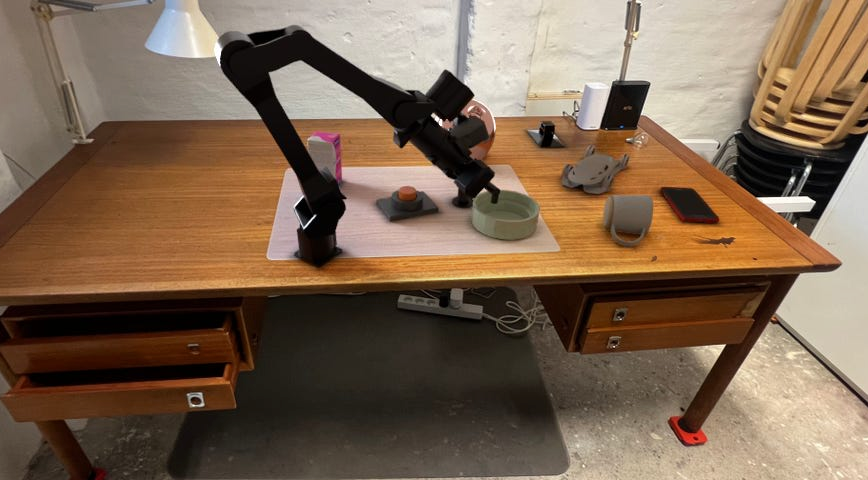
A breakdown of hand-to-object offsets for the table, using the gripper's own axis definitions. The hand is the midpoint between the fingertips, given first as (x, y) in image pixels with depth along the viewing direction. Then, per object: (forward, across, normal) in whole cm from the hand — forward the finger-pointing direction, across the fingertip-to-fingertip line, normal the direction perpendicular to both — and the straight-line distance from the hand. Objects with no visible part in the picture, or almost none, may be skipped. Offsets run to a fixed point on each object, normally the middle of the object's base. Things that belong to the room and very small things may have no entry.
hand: (482, 187), depth 100 cm
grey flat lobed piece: (+32, +9, -20) cm, 39 cm away
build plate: (+34, +34, -22) cm, 53 cm away
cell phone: (+39, -10, -27) cm, 49 cm away
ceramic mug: (+24, -14, -12) cm, 31 cm away
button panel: (-3, +10, +14) cm, 17 cm away
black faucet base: (+6, +8, +5) cm, 12 cm away
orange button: (-5, +10, +12) cm, 16 cm away
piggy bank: (+13, +28, -2) cm, 31 cm away
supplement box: (-12, +27, +23) cm, 37 cm away
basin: (+9, -2, +2) cm, 9 cm away
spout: (+2, +3, +1) cm, 4 cm away
